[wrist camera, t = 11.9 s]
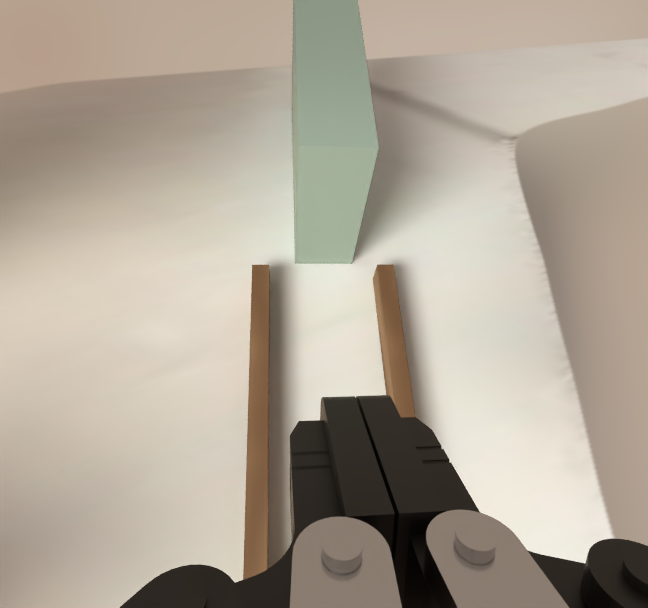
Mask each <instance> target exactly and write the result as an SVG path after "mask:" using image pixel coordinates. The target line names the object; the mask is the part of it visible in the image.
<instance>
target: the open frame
mask: <svg viewBox="0 0 648 608" xmlns="http://www.w3.org/2000/svg"><path fill="white" fill-rule="evenodd" d="M373 284H374V292H375V301H376V309H377V318H378V326H379V335H380V343H381V352H382V361H383V369H384V378H385V386H386V395H389V396H391V398H392V400H393V402H394V404H395V406H396V408H397V410H398V412H399V414H400V417H415V411H414V404H413V398H412V391H411V384H410V377H409V370H408V363H407V356H406V349H405V342H404V335H403V328H402V321H401V314H400V307H399V300H398V293H397V287H396V280H395V273H394V266H393V265H377V268H376V271H375V274H374V277H373ZM269 330H270V273H269V265H252V295H251V330H250V365H249V400H248V435H247V470H246V505H245V540H244V575H243V580H244V579H247V578H250V577H252V576H255V575H257V574H259V573H262V572H264V571H266V570H267V569H268V474H269Z"/></svg>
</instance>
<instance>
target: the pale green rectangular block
mask: <svg viewBox="0 0 648 608" xmlns="http://www.w3.org/2000/svg"><path fill="white" fill-rule="evenodd" d="M292 141H293V189H294V238H295V264H352V261H353V256H354V252H355V248H356V244H357V239H358V235H359V231H360V226H361V222H362V218H363V214H364V209H365V205H366V201H367V197H368V192H369V188H370V184H371V179H372V175H373V171H374V167H375V162H376V158H377V154H378V150H379V145H378V138H377V131H376V124H375V117H374V110H373V103H372V96H371V89H370V82H369V75H368V68H367V61H366V54H365V47H364V40H363V33H362V26H361V20H360V13H359V6H358V0H293V61H292Z"/></svg>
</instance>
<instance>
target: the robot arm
mask: <svg viewBox="0 0 648 608" xmlns="http://www.w3.org/2000/svg"><path fill="white" fill-rule="evenodd" d="M290 510H291V532H292V543H291V545H290V548H289V549H288V551H287V552H286V554H285V555H284V556H283V557H282V558H281V559H280V560H279V561H278V562H277V563H276V564H275V565H273V566H272V567H270V568H269V569H267V570H266V571H264V572H262V573H259V574H257V575H255V576H252V577H250V578H247V579H244V580H242V581H239V582H236V583H234V581H233V580H232V579H231V578H230V577H229V576H228V575H227V574H226V573H224V572H223V571H221V570H219V569H217V568H214V567H211V566H206V565H187V566H181V567H178V568H175V569H172V570H169V571H167V572H165V573H163V574H161V575H159V576H158V577H156V578H154V579H153V580H152V581H150V582H149V583H148V584H146V585H145V586H144V587H143V588H142V589H141V590H139V591H138V592H137V593H136V594H135V595H134V596H132V597H131V598H130V599H129V600H128V601H127V602H126V603H124V604H123V605H122V606H121V607H120V608H648V546H646V545H643V544H640V543H637V542H633V541H629V540H623V539H605V540H602V541H599V542H597V543H595V544H594V545H593V546H592V547H591V548H590V550H589V553H588V556H587V560H586V564H584V563H579V562H575V561H570V560H565V559H560V558H555V557H550V556H545V555H541V554H537V553H533V552H530V551H527V550H526V548H525V547H524V546H523V544H522V543H521V542H520V540H519V539H518V538H517V536H516V535H515V534H514V533H513V532H512V531H511V530H510V529H509V528H508V527H506V526H505V525H504V524H502V523H501V522H499V521H498V520H496V519H494V518H492V517H490V516H488V515H485V514H482V513H480V512H479V510H478V508H477V507H476V505H475V503H474V501H473V500H472V498H471V496H470V495H469V493H468V491H467V489H466V488H465V486H464V484H463V483H462V481H461V479H460V477H459V476H458V474H457V472H456V470H455V469H454V467H453V465H452V464H451V463H449V458H448V457H447V455H446V453H445V452H444V450H443V449H441V445H440V443H439V441H438V440H437V438H436V436H435V434H434V433H433V431H432V430H431V429H430V428H429V427H427V426H426V425H425V424H423V423H422V422H421V421H420V420H418V419H417V418H416V417H400V414H399V412H398V410H397V408H396V406H395V404H394V402H393V400H392V398H391V396H389V395H382V396H357V397H356V398H355V397H354V396H353V397H322V399H321V416H320V421H299V422H298V424H297V425H296V427H295V428H294V430H293V432H292V433H291V435H290Z"/></svg>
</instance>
